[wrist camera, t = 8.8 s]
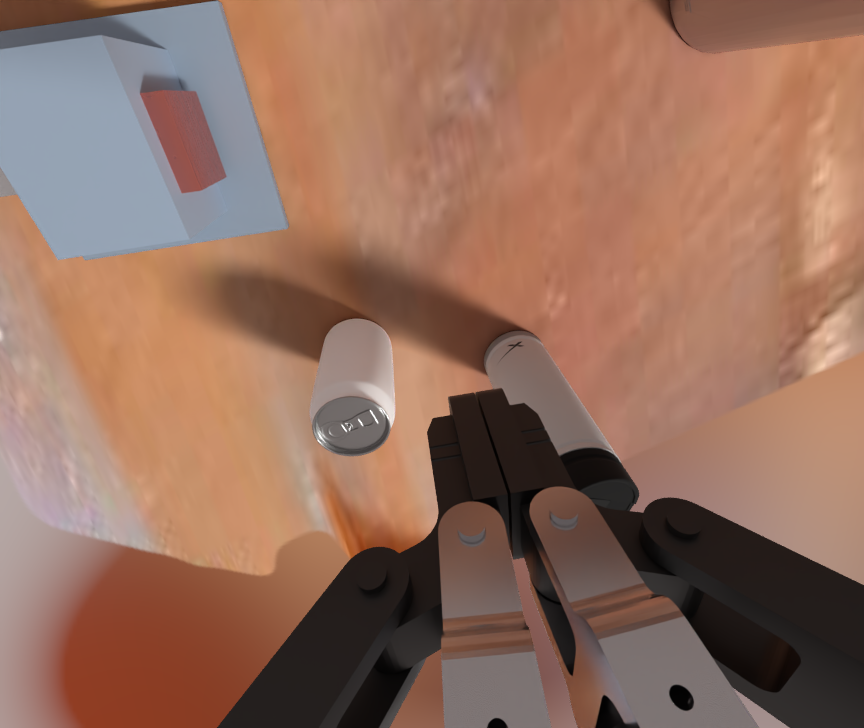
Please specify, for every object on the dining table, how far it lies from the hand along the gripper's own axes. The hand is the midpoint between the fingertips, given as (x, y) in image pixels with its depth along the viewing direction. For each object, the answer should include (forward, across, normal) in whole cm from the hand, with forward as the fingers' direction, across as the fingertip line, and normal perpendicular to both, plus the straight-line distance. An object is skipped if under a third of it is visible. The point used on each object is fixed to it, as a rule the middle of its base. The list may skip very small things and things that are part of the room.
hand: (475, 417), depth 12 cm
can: (+27, +7, +12) cm, 31 cm away
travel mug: (+27, -8, +16) cm, 33 cm away
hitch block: (+27, +18, -7) cm, 33 cm away
